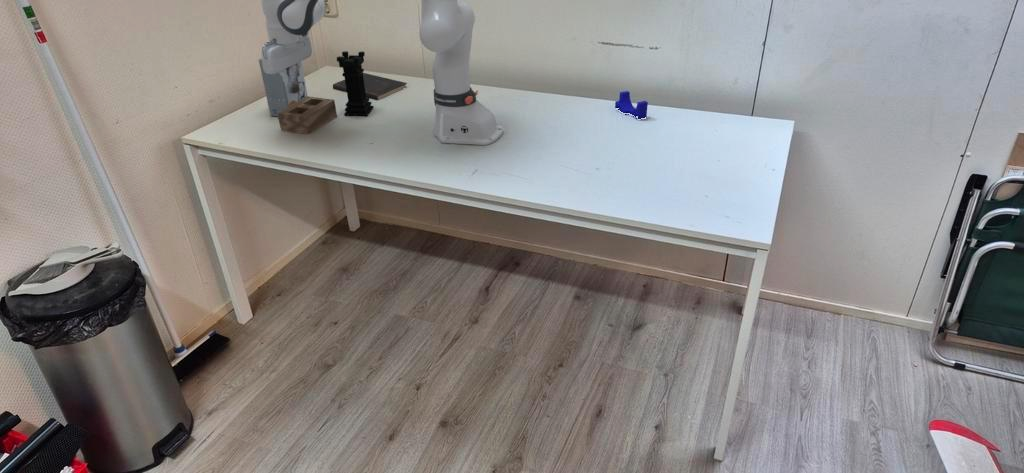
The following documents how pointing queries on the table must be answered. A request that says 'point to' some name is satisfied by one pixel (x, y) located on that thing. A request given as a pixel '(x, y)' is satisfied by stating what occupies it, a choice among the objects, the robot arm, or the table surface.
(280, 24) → the robot arm
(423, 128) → the table surface
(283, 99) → the hard drive box
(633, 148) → the table surface
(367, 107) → the chess piece
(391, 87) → the hardcover book
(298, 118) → the bore block
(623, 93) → the cable clip
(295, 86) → the pin
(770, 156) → the table surface
